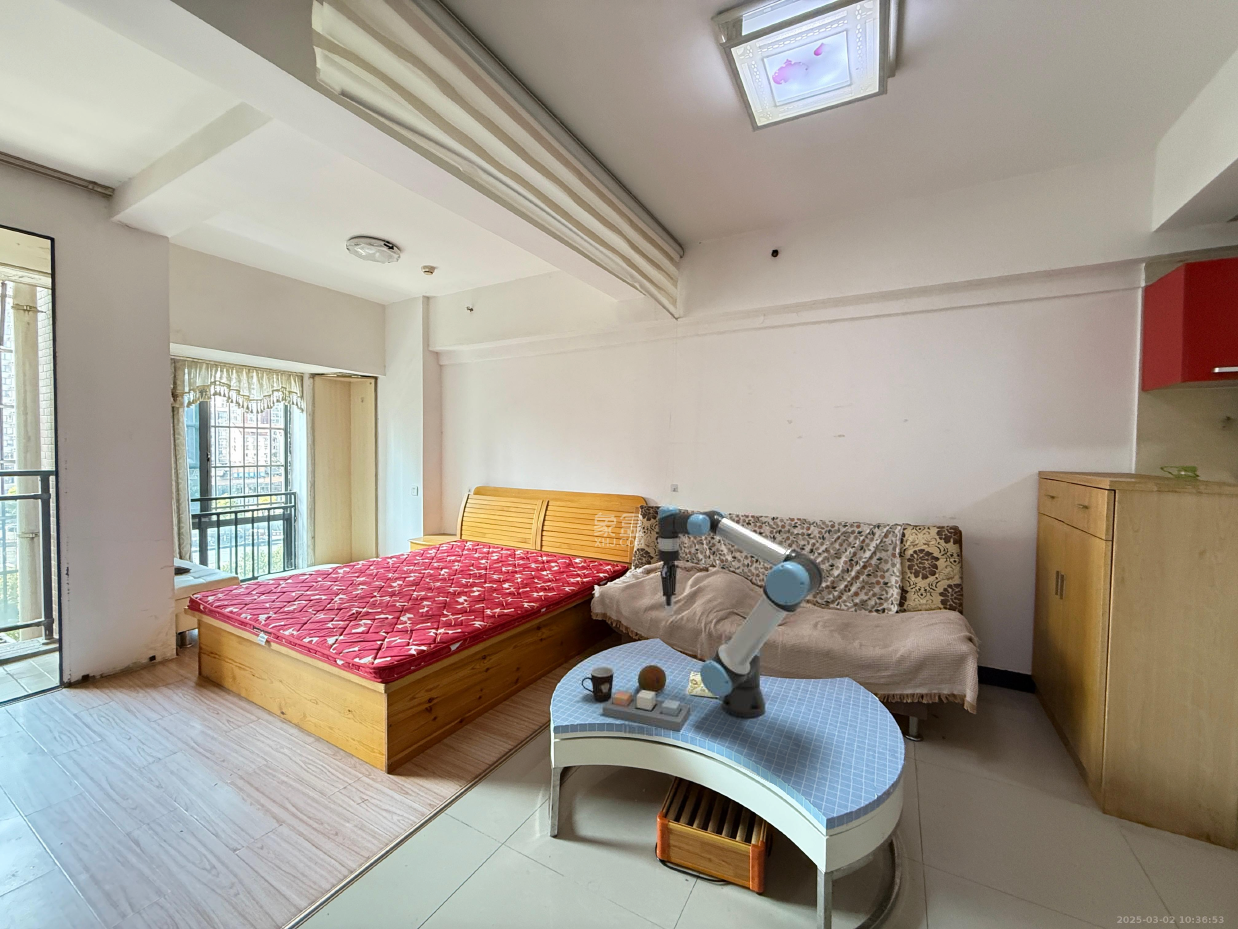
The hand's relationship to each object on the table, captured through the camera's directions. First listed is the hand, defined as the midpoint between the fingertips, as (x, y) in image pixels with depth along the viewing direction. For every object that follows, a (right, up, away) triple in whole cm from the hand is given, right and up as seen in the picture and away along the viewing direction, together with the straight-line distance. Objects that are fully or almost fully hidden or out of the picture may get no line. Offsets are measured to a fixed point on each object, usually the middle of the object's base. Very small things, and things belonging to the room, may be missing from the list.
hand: (669, 613), depth 184 cm
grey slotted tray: (-9, -33, -9) cm, 35 cm away
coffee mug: (-26, -33, +4) cm, 42 cm away
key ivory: (-9, -29, -9) cm, 32 cm away
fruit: (-6, -33, +10) cm, 35 cm away
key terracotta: (-17, -31, -5) cm, 36 cm away
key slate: (-1, -31, -13) cm, 33 cm away
